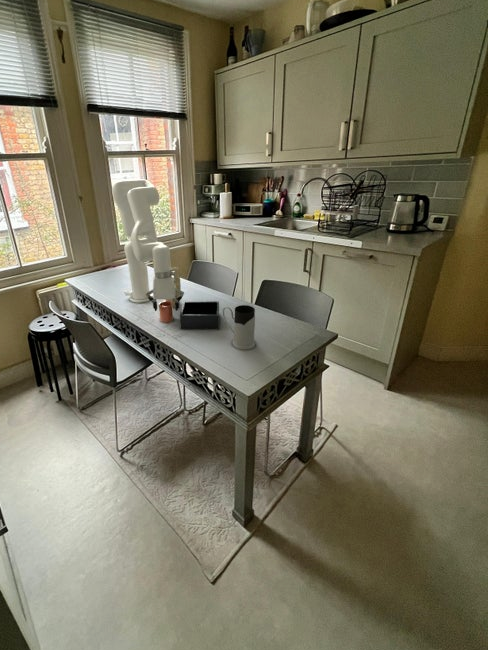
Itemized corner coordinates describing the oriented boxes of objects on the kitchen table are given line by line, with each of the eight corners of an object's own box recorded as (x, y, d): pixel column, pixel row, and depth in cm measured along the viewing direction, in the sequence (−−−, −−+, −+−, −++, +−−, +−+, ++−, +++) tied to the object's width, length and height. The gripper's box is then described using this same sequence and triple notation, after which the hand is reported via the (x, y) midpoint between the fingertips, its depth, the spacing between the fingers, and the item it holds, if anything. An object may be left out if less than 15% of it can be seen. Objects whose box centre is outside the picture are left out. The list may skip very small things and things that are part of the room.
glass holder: (247, 351, 119) (248, 316, 113) (216, 340, 128) (216, 306, 122) (259, 342, 125) (260, 307, 119) (229, 331, 134) (229, 299, 128)
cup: (159, 322, 145) (157, 306, 141) (161, 316, 150) (160, 301, 147) (172, 322, 144) (170, 306, 141) (173, 316, 149) (172, 301, 146)
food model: (172, 310, 156) (169, 271, 148) (162, 306, 160) (159, 269, 152) (184, 303, 163) (182, 266, 155) (175, 300, 167) (172, 264, 159)
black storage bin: (180, 329, 138) (179, 315, 135) (184, 314, 151) (183, 301, 148) (218, 329, 136) (218, 315, 133) (219, 314, 149) (219, 301, 146)
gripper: (183, 271, 140) (186, 306, 147) (145, 272, 142) (149, 306, 149) (181, 276, 133) (184, 313, 140) (141, 277, 135) (146, 313, 142)
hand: (166, 309), depth 144 cm, fingers open, 9 cm apart
